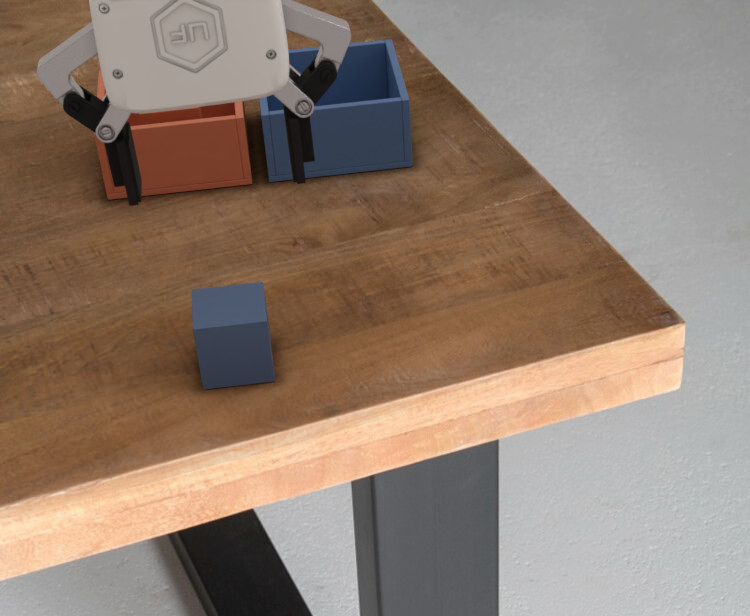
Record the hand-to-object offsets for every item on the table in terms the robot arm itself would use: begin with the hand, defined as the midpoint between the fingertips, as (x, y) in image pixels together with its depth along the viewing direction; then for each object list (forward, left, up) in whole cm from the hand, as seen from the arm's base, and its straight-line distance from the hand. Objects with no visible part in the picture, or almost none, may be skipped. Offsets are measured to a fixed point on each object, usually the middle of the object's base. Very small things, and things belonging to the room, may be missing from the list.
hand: (217, 183), depth 83 cm
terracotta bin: (-4, +29, -13) cm, 32 cm away
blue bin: (+9, +29, -13) cm, 33 cm away
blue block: (0, 0, -13) cm, 13 cm away
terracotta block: (-4, +29, -12) cm, 32 cm away
